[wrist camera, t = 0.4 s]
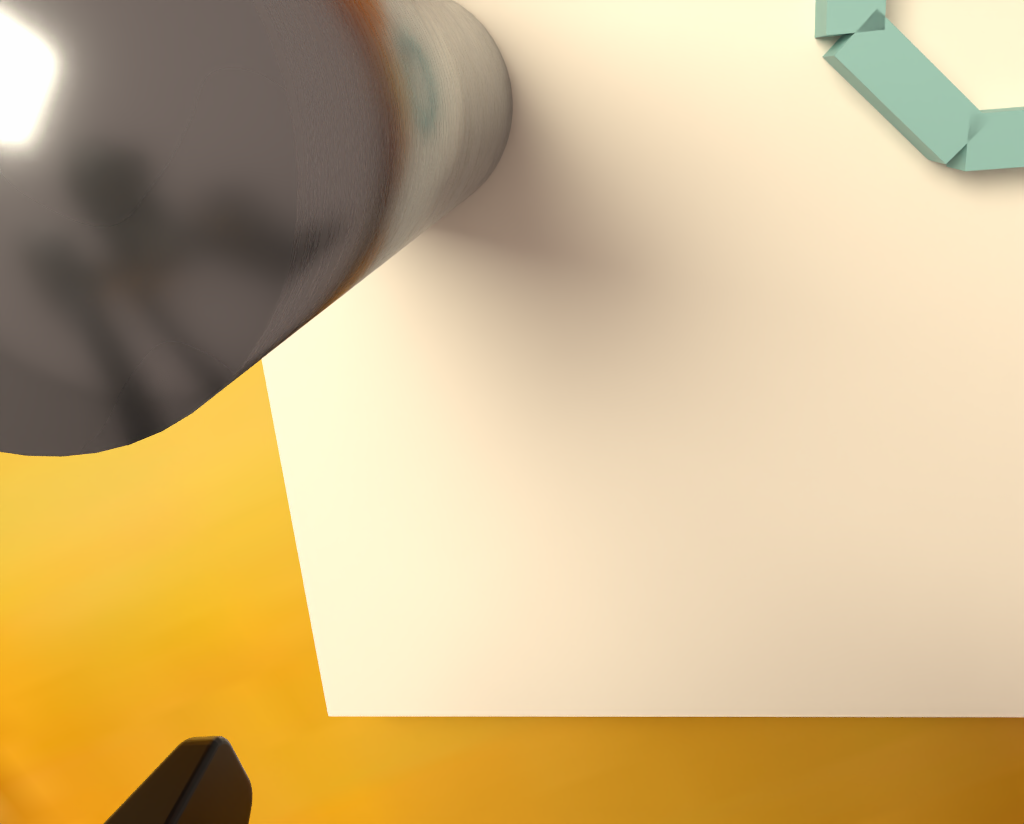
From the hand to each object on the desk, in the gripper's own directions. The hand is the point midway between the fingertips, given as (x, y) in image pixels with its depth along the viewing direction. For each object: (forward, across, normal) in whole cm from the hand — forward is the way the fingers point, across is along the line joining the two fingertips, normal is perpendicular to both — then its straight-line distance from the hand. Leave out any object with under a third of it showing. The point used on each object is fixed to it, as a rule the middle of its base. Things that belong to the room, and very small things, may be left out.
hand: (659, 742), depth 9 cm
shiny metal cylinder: (+13, +4, -3) cm, 14 cm away
